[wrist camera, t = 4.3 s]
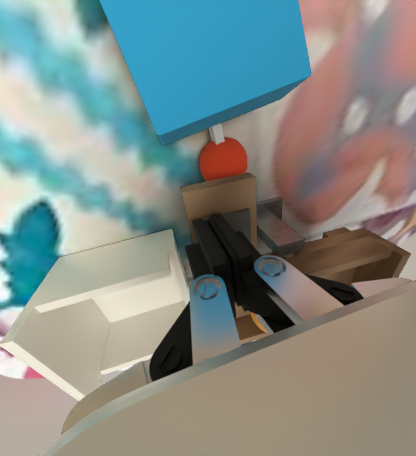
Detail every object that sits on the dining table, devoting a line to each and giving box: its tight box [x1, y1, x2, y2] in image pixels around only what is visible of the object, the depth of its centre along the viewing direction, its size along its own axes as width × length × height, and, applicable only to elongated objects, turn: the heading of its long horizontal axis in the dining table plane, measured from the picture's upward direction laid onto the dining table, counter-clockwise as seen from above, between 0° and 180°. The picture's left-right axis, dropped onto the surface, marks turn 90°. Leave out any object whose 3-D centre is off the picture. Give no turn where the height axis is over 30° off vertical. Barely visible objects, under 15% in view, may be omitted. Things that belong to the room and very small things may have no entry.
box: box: [0, 229, 190, 401], centre depth 15 cm, size 9×9×7 cm
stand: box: [256, 197, 305, 257], centre depth 17 cm, size 5×10×6 cm, turn 10°
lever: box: [100, 0, 311, 181], centre depth 10 cm, size 7×7×18 cm
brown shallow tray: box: [180, 173, 411, 344], centre depth 13 cm, size 14×12×5 cm
